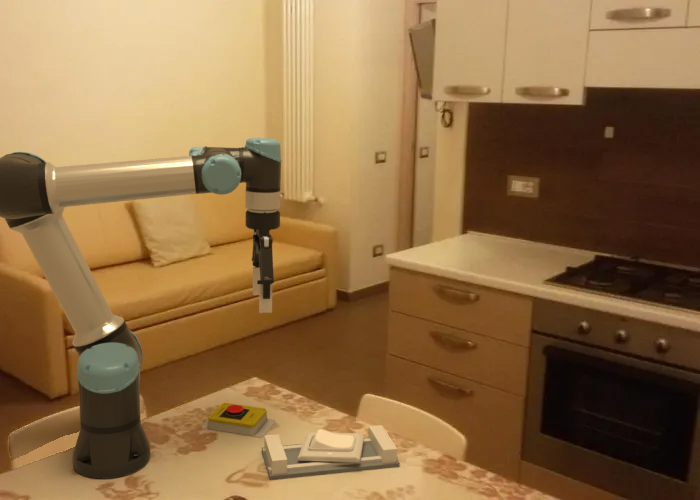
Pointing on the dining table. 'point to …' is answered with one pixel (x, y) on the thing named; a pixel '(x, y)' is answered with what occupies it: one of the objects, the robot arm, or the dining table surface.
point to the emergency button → (239, 420)
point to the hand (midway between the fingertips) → (261, 303)
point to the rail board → (286, 464)
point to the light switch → (331, 447)
